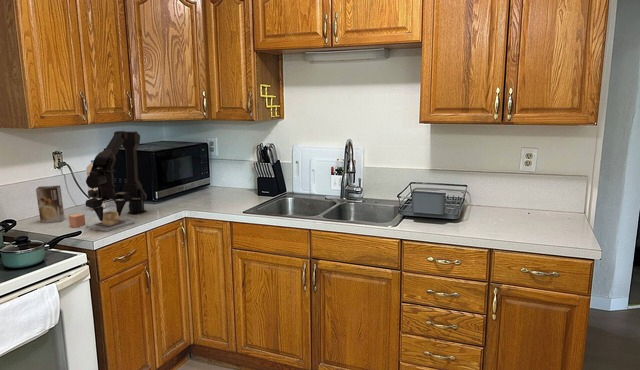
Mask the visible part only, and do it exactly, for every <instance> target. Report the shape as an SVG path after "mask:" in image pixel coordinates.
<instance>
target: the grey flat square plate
mask: <svg viewBox="0 0 640 370" xmlns="http://www.w3.org/2000/svg"><path fill="white" fill-rule="evenodd" d="M133 224H134V225H135V224H136V222H135V221H133V220H127V219H120V218H119V223H116V224H113V225H110V226H109V225H103V224H102V221H100V222H97V223H94V224H91V225H87V226H86V225H85V228H86V229H87V228H90V229H89V230H93V229H95V230H94V231H99V230H101V231H100V232H104V231H106V232H105V233H108V232H111V231H113V230H117V228H118V229H120V228H124V227H126V226H131V225H133ZM110 230H111V231H110ZM107 231H108V232H107Z"/></svg>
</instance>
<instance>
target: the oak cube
mask: <svg viewBox="0 0 640 370" xmlns="http://www.w3.org/2000/svg"><path fill="white" fill-rule="evenodd" d="M119 219H120V216H119V215H118V212H117V211H112V210H111V211H109V210H108V211H106V212H103V221H101V222H102V224H103V225H109V226H110V225H113V224H116V223H119Z"/></svg>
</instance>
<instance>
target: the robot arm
mask: <svg viewBox="0 0 640 370" xmlns="http://www.w3.org/2000/svg"><path fill="white" fill-rule="evenodd" d="M140 143H141V135H140V134H139V133H138V132H137V131H136V130H135V131H125V130H116V131H114V133H113V136H112V138H111V139H110V141H109V142H108V144H107V145H106V147H105V149H103V151H101V152H98V154H96V156H95V157H94V159H93V160H94V162H93V165H92V168H91V172H90V175H89V176H88V177H87V176H86V178H85V179H86V180H85V184H86V185H87V188H88V187H90V188H92V189H94V188H97V187H98V188H97V189H98V190H97V191H94V190H89V189H88V190H89V191H88V190H87V196H88V198H93V199H86V201H85V207H88V208H89V209H91V208H92V209H93V211H94V212H95V214H96V216H97V218H98V220H99V221H100V222H102V221H103V213H104V209H103V206H102V203H105V204H106V203H108V202H112V201H113V202H114V204H115V207H116V212H118V215H119V217H120V216H122V215H121V214H122V212H123V209H124V207H125V204H126V203H127V202H128V209H129V210H128V212H127V214H128V213H130V214H135V215H138V214H142V213H144V212H145V213H146V212H147V211H148V210H147V209H145V201H146V200H147V198H148V197H147V196H148V194H147V193H146V192H145V190H144V188H143V184H142V183H141V181H140V180H139V172H138V171H139V168H138V154H137V150H138V148H139V146H140ZM121 147H123V149H124V150H125V160H126V163H125V164H126V178H127V179H126V182H125V183H124V184H123V185H122V187H123V191H120V192H115V189H116V188H117V185H115V182H114V174H113V173H115V172H116V171H115V169H113V167H114V166H115V163H116V161H117V159H116V156H117V154H118V152H119V151H120V149H121ZM96 198H101V199H96ZM92 209H91V210H92Z"/></svg>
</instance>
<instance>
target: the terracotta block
mask: <svg viewBox="0 0 640 370" xmlns="http://www.w3.org/2000/svg"><path fill="white" fill-rule="evenodd" d="M85 217H86V216H85V214H82V213H75V214H71V215H68V220H69V221H68V223H69V227H70V228H74V229H77V227H78V228H81V227H80V226H82V227H84V225H85V226H86V218H85Z"/></svg>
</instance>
